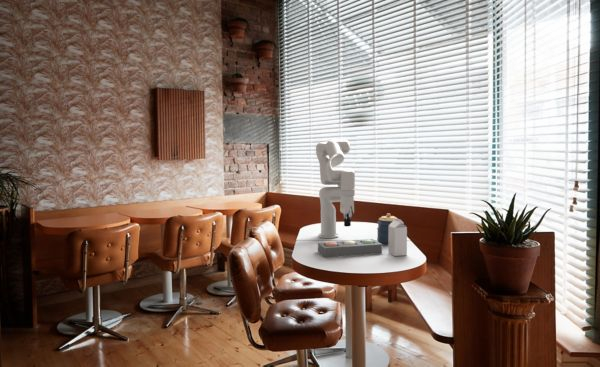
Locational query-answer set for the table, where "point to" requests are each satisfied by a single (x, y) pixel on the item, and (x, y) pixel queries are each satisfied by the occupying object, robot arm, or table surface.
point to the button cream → (349, 242)
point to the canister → (384, 228)
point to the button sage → (367, 241)
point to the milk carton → (397, 238)
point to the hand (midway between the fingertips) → (347, 225)
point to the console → (349, 249)
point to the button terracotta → (330, 244)
